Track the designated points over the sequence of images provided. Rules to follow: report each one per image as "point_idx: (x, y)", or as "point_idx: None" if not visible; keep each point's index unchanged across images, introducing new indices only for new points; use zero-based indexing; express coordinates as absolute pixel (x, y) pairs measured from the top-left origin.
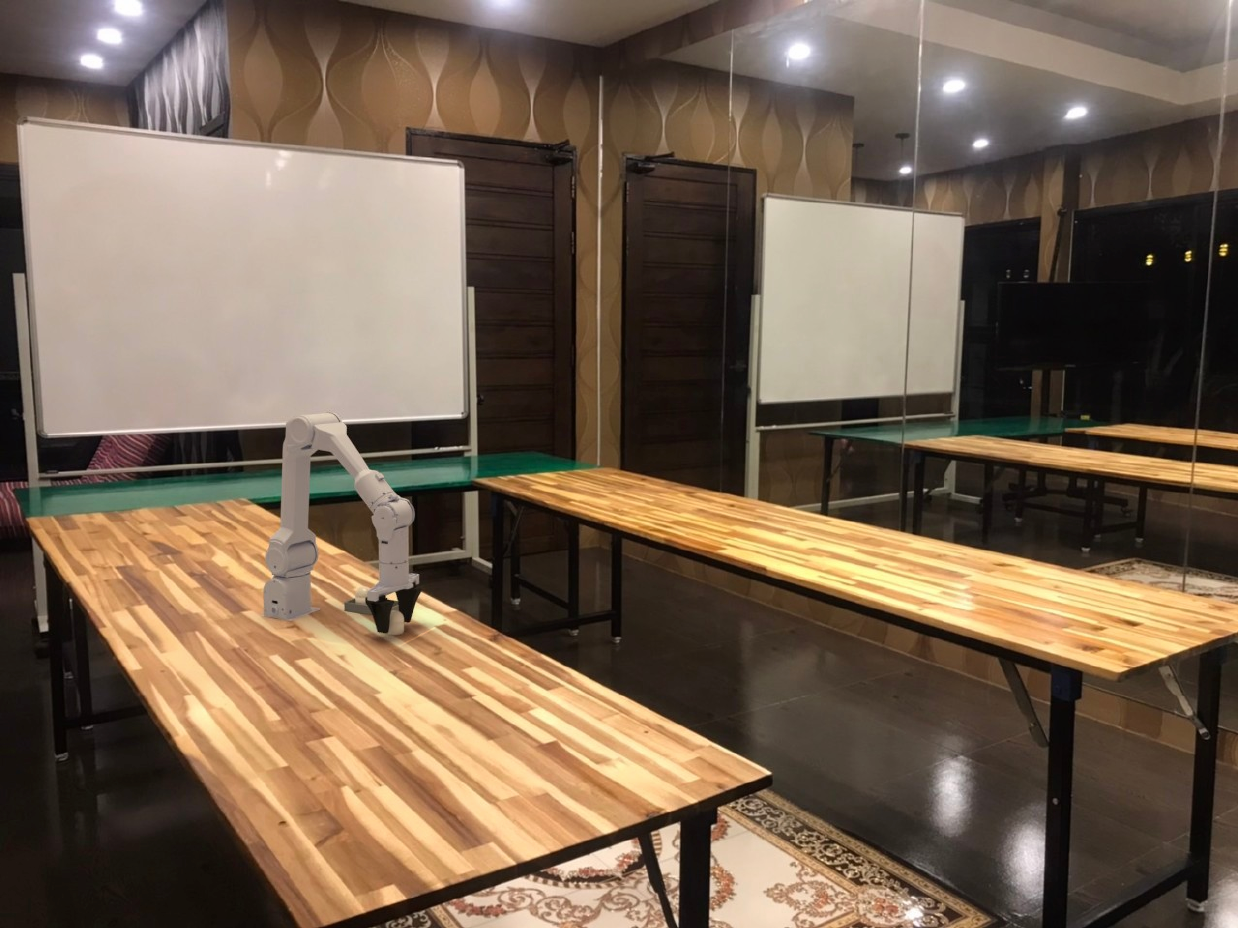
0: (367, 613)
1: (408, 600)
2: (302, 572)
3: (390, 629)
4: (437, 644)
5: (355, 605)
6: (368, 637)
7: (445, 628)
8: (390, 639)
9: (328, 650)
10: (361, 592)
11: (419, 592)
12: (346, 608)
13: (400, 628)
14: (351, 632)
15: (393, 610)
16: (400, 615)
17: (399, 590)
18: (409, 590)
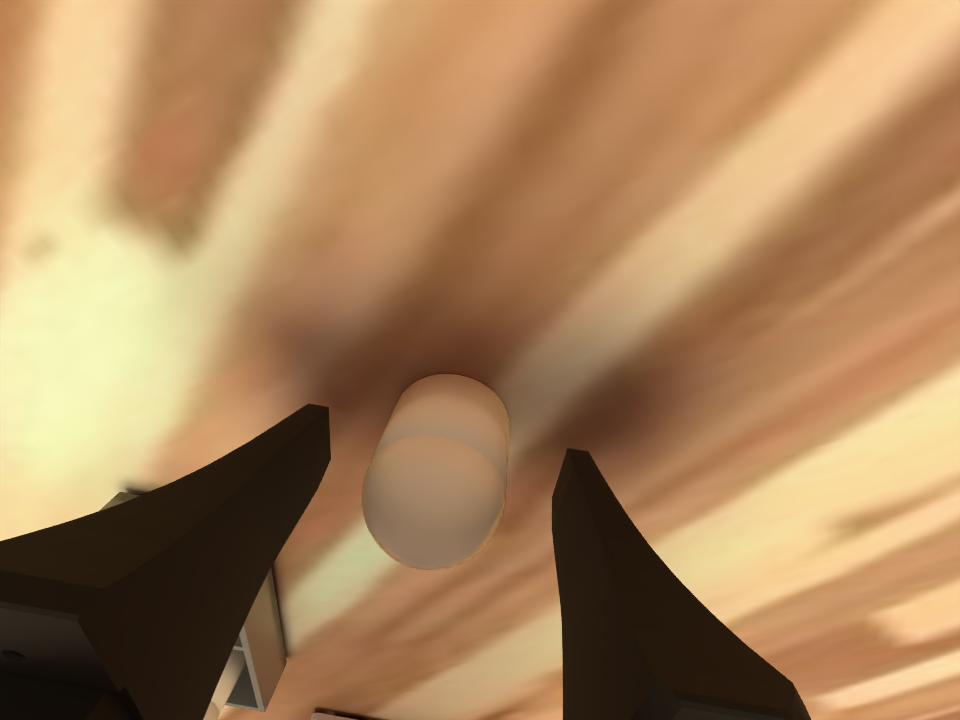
0: (269, 609)
1: (225, 546)
2: None
3: (507, 455)
4: (556, 22)
5: (262, 675)
6: (536, 511)
7: (176, 157)
8: (536, 410)
9: (761, 588)
10: None
11: (50, 545)
12: (277, 676)
13: (468, 409)
14: (490, 585)
15: (424, 556)
16: (436, 479)
17: (185, 705)
18: (137, 656)
